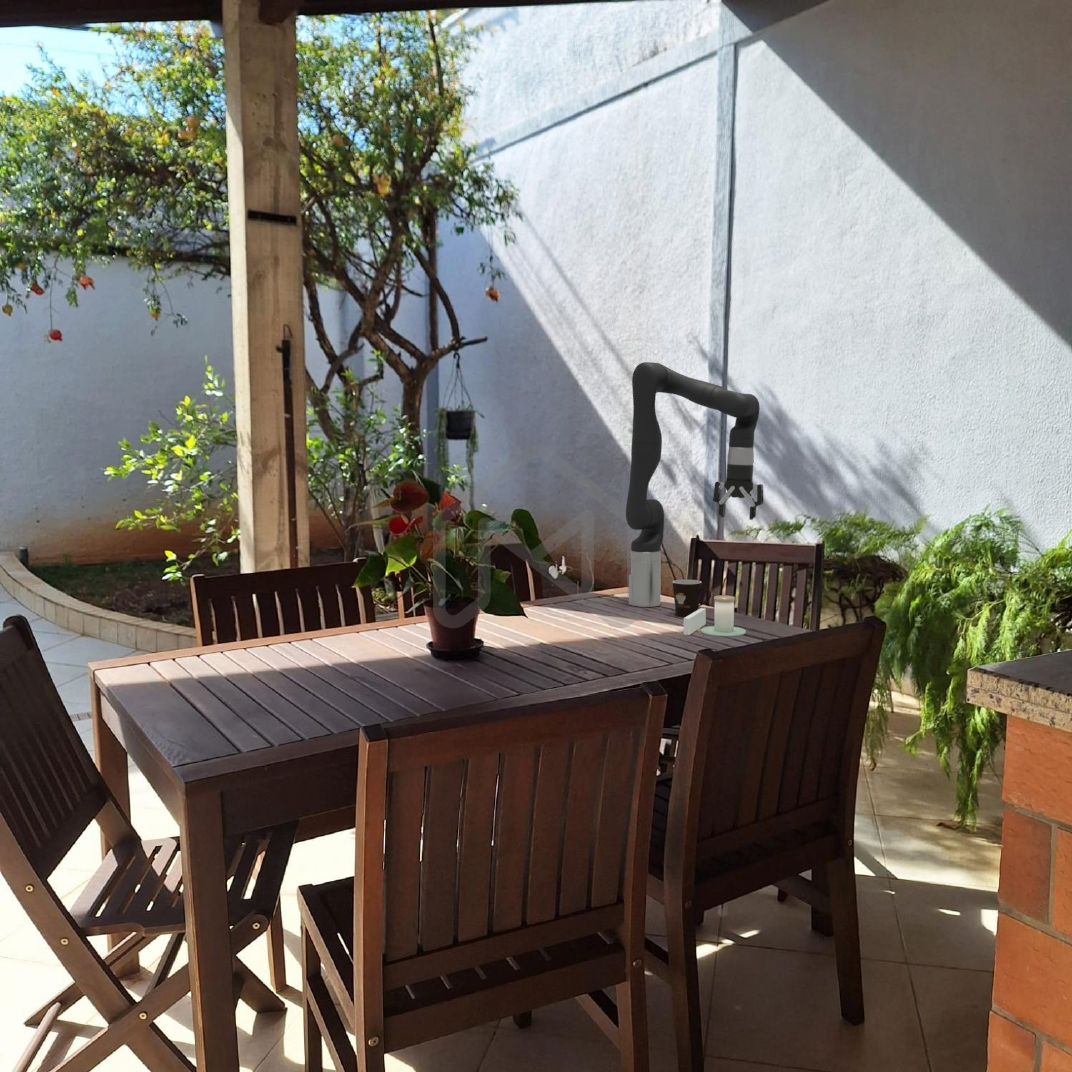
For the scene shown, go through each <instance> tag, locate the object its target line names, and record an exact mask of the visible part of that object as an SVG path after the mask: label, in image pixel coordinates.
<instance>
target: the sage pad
mask: <svg viewBox="0 0 1072 1072" xmlns="http://www.w3.org/2000/svg"><path fill="white" fill-rule="evenodd" d="M700 629H701V630H700V632H701V633H702V634H704V635H706V636H707V635H708V636H714V637H739V636H743V635H745V634H746V633H747V631H746V629H744V628H742V627H738V626H734V631H733V632H717V631H714V625H710V626H705V627H704V626H703V627H701V628H700Z"/></svg>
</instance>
